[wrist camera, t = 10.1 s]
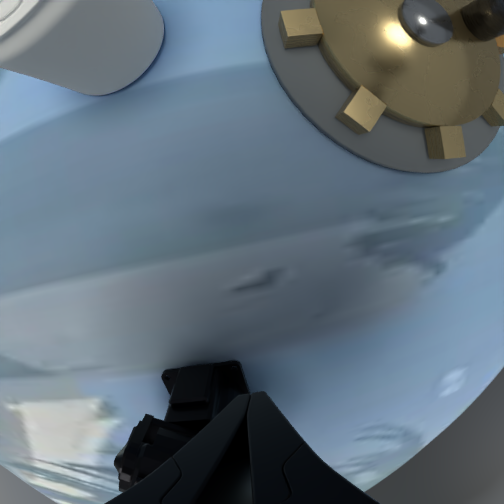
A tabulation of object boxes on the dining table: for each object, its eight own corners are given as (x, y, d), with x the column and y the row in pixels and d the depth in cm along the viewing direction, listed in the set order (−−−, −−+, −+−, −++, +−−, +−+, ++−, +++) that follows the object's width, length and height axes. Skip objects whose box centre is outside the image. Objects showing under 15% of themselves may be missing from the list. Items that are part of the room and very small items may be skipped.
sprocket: (527, 78, 15) (604, 67, 6) (413, 213, 19) (511, 252, 9) (382, -80, 12) (422, -142, 3) (217, 12, 15) (192, -82, 6)
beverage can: (169, -10, 16) (110, -113, 4) (165, 86, 18) (72, 12, 6) (72, 16, 16) (-22, -42, 4) (63, 107, 18) (-61, 86, 7)
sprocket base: (517, 158, 19) (527, 159, 17) (301, 196, 20) (305, 198, 19) (450, -42, 13) (456, -48, 12) (232, -51, 15) (231, -61, 13)
